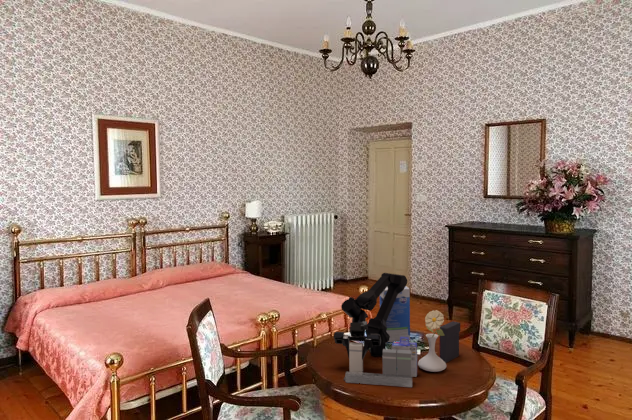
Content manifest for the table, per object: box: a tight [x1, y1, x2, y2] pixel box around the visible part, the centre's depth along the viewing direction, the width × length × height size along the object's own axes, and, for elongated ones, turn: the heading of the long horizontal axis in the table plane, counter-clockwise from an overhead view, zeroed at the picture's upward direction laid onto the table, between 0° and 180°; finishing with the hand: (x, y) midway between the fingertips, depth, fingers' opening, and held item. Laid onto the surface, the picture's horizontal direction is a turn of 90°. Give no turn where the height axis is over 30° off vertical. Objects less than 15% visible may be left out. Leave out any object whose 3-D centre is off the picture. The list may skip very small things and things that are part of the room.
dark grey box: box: [438, 320, 461, 364], centre depth 204 cm, size 11×4×15 cm, turn 134°
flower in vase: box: [417, 309, 447, 373], centre depth 192 cm, size 13×11×25 cm
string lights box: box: [379, 285, 411, 342], centre depth 228 cm, size 13×8×26 cm, turn 97°
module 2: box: [381, 348, 396, 375], centre depth 182 cm, size 4×5×12 cm
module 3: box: [397, 350, 411, 376], centre depth 180 cm, size 4×5×12 cm
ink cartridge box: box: [391, 337, 418, 378], centre depth 189 cm, size 10×6×14 cm, turn 78°
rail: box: [343, 371, 413, 388], centre depth 182 cm, size 6×26×4 cm, turn 78°
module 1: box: [348, 341, 364, 373], centre depth 190 cm, size 4×5×12 cm
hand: (355, 358), depth 188 cm, fingers closed on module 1, 5 cm apart
